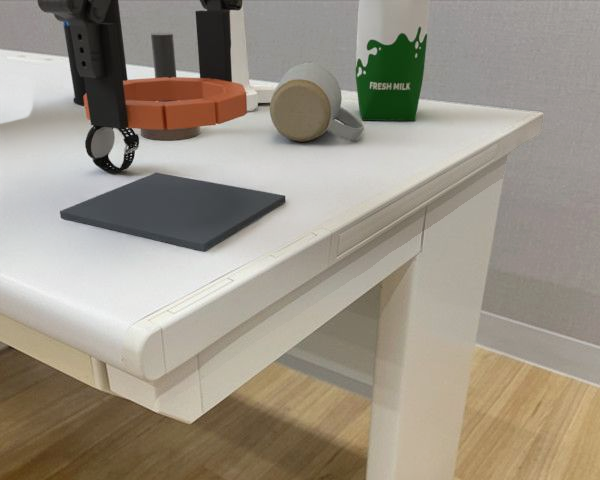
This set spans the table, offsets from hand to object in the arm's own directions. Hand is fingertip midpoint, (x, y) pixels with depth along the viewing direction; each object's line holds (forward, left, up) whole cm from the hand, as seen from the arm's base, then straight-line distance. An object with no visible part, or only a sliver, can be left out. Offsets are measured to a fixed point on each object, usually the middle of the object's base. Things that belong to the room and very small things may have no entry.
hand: (168, 109), depth 49 cm
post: (-17, +21, -8) cm, 28 cm away
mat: (0, 0, -8) cm, 8 cm away
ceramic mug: (-1, +28, -8) cm, 29 cm away
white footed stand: (-18, +38, -8) cm, 43 cm away
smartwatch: (-12, +6, -8) cm, 16 cm away
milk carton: (+2, +43, -8) cm, 44 cm away
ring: (0, 0, 0) cm, 0 cm away
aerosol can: (-38, +32, -8) cm, 50 cm away
